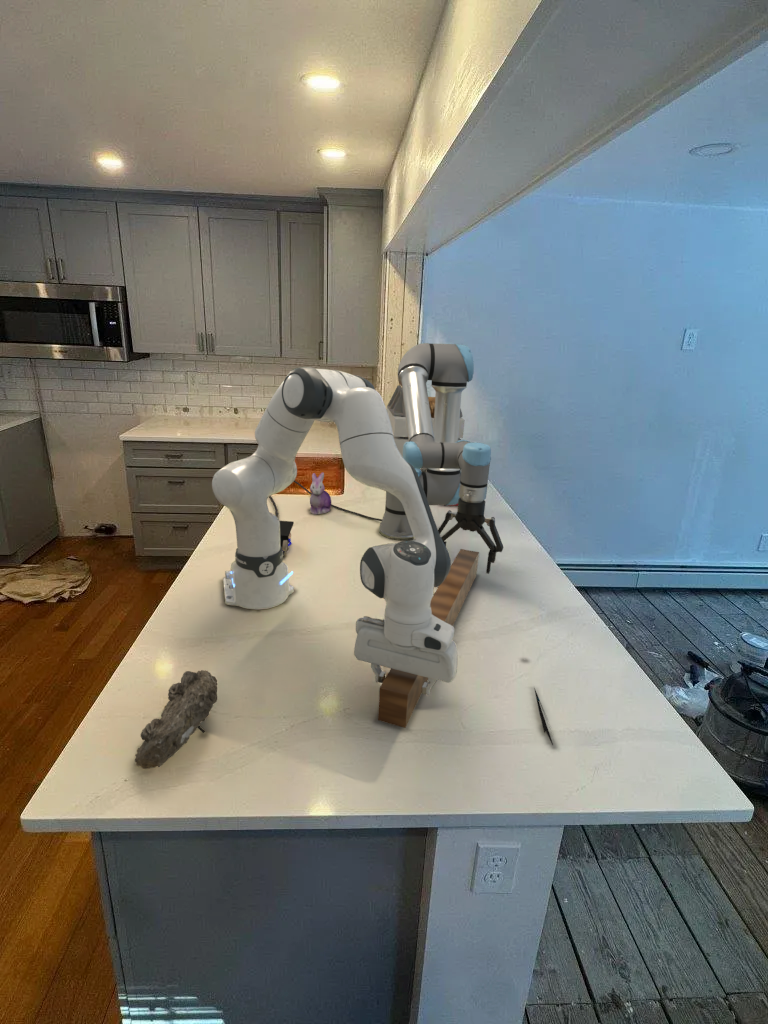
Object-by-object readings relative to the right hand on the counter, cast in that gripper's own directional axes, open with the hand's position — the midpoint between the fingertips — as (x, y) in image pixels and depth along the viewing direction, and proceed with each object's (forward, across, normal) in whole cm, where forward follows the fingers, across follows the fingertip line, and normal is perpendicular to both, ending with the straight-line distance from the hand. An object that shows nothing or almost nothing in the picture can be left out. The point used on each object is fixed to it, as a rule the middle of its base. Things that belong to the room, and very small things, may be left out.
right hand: (464, 567), depth 166 cm
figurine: (+5, -64, +36) cm, 74 cm away
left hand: (-1, 0, -60) cm, 60 cm away
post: (+4, 0, -30) cm, 30 cm away
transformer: (+6, -44, +106) cm, 115 cm away
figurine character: (+5, -59, -2) cm, 60 cm away
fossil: (+4, -35, -82) cm, 89 cm away
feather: (+4, +25, -48) cm, 54 cm away
